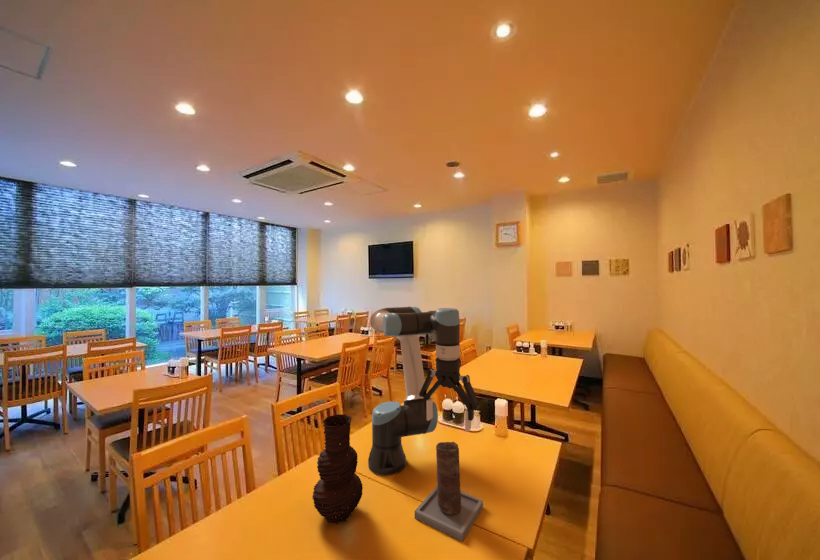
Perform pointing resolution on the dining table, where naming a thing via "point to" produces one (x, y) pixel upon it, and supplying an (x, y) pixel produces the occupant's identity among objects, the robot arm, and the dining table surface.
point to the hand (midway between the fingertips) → (448, 424)
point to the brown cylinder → (448, 477)
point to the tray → (449, 515)
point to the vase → (337, 472)
